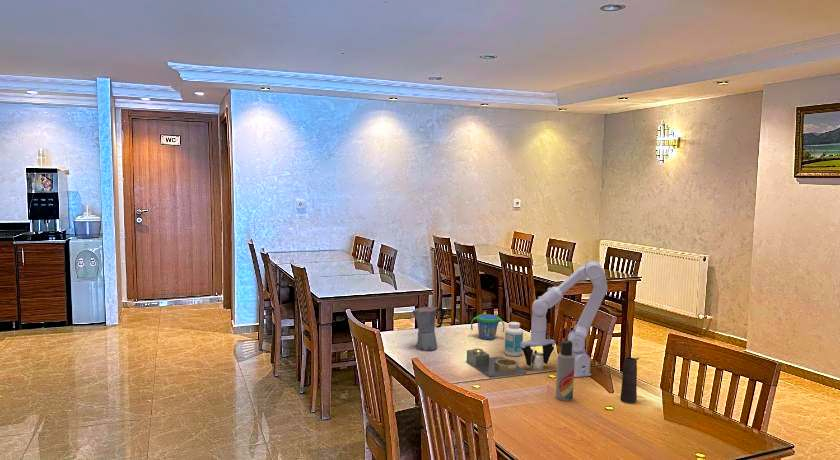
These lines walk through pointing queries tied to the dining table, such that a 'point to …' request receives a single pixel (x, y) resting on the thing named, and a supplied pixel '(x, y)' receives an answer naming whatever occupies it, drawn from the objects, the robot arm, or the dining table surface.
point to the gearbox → (493, 364)
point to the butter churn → (629, 377)
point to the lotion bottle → (565, 372)
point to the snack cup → (487, 325)
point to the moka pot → (427, 326)
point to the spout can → (537, 361)
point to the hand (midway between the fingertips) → (536, 364)
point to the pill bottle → (513, 339)
